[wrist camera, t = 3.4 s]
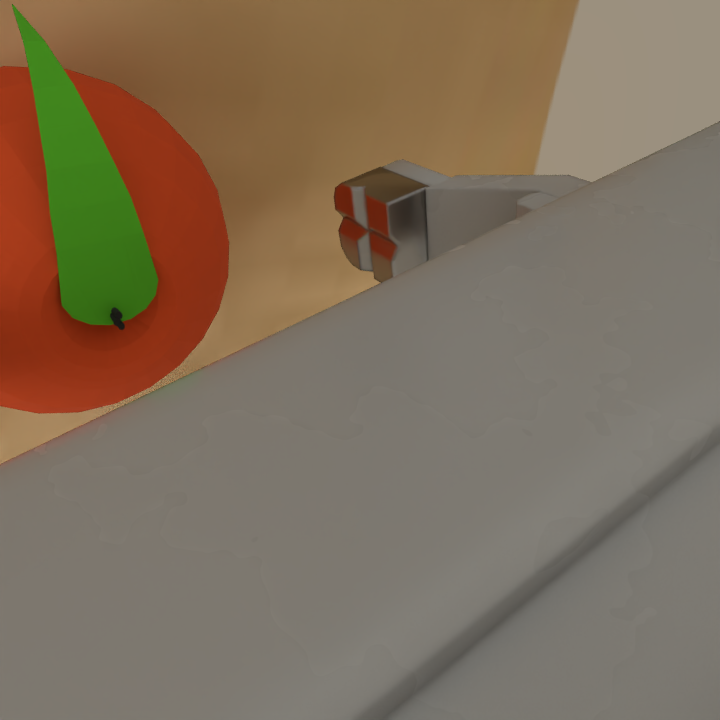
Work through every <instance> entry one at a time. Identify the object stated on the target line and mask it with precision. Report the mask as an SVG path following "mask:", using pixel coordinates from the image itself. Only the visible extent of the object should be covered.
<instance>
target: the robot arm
mask: <svg viewBox="0 0 720 720" xmlns="http://www.w3.org/2000/svg"><path fill="white" fill-rule="evenodd" d="M334 202H335V210H336V211H337V212H338V213H339V214H340V215H341V216H342V217H343V220H342V222H341V225H340V227H339V230H338V231H339V237H340V243H341V247H342V249H343V251H344V253H345V255H346V258H347V259H348V260H349V261H350V262H351V264H352V265H353V266H355V267H356V268H358V269H359V270H363V271H373V273H374V279H376V280H377V281H379V282H381V283H380V284H378V285H376V286H374V287H371V288H369V289H367V290H365V291H363V292H361V293H359V294H357V295H355V296H353V297H350V298H348V299H346V300H344V301H342V302H340V303H338V304H336V305H334V306H332V307H329V308H327V309H325V310H323V311H321V312H319V313H317V314H315V315H313V316H311V317H308V318H306V319H304V320H302V321H300V322H298V323H296V324H294V325H292V326H289V327H287V328H285V329H283V330H281V331H279V332H277V333H275V334H273V335H271V336H268V337H266V338H264V339H262V340H260V341H258V342H256V343H254V344H252V345H250V346H247V347H245V348H243V349H241V350H239V351H237V352H235V353H233V354H231V355H229V356H226V357H224V358H222V359H220V360H218V361H216V362H214V363H212V364H210V365H208V366H205V367H203V368H201V369H199V370H197V371H195V372H193V373H191V374H189V375H186V376H184V377H182V378H180V379H178V380H176V381H174V382H172V383H170V384H168V385H165V386H163V387H161V388H159V389H157V390H155V391H153V392H151V393H149V394H147V395H144V396H142V397H140V398H138V399H136V400H134V401H132V402H130V403H128V404H126V405H123V406H121V407H119V408H117V409H115V410H113V411H111V412H109V413H107V414H104V415H102V416H100V417H98V418H96V419H94V420H92V421H90V422H88V423H86V424H83V425H81V426H79V427H77V428H75V429H73V430H71V431H69V432H67V433H65V434H62V435H60V436H58V437H56V438H54V439H52V440H50V441H48V442H46V443H44V444H41V445H39V446H37V447H35V448H33V449H31V450H29V451H27V452H25V453H23V454H20V455H18V456H16V457H14V458H12V459H10V460H8V461H6V462H4V463H1V464H0V720H720V121H719V122H718V123H715V124H713V125H711V126H709V127H707V128H705V129H703V130H701V131H699V132H697V133H695V134H693V135H691V136H688V137H686V138H684V139H682V140H680V141H678V142H676V143H674V144H672V145H670V146H667V147H666V148H663V149H661V150H659V151H657V152H655V153H653V154H651V155H649V156H647V157H644V158H642V159H640V160H639V161H636V162H634V163H632V164H630V165H628V166H626V167H624V168H621V169H619V170H617V171H615V172H613V173H611V174H609V175H607V176H605V177H602V178H600V179H598V180H596V181H594V182H589V181H586V180H583V179H579V178H576V177H573V176H570V175H457V176H454V177H452V178H451V177H448V176H446V175H443V174H440V173H438V172H435V171H432V170H430V169H427V168H424V167H422V166H419V165H416V164H414V163H411V162H408V161H406V160H403V159H402V160H396V161H394V162H392V163H390V164H387V165H385V166H383V167H378V168H376V169H374V170H371V171H369V172H366V173H364V174H362V175H359V176H357V177H354V178H352V179H349V180H347V181H345V182H342V183H341V184H339V185H338V186H336V187H335V192H334Z"/></svg>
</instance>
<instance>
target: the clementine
mask: <svg viewBox="0 0 720 720" xmlns="http://www.w3.org/2000/svg"><path fill="white" fill-rule="evenodd" d="M12 7H13V11H14V14H15V17H16V20H17V23H18V27H19V30H20V33H21V36H22V40H23V43H24V47H25V52H26V57H27V62H28V67H9V66H3V67H0V406H2V407H8V408H13V409H18V410H23V411H28V412H34V413H70V412H82V411H86V410H90V409H94V408H98V407H102V406H106V405H111V404H115V403H118V402H120V401H122V400H124V399H126V398H128V397H130V396H133V395H135V394H137V393H139V392H141V391H143V390H145V389H147V388H150V387H151V386H153V385H154V384H155V383H157V382H158V381H159V380H161V379H162V378H163V377H165V376H166V375H167V374H169V373H170V372H171V371H173V370H174V369H175V368H177V367H178V366H179V365H180V364H181V363H182V362H183V361H184V360H185V358H186V357H187V356H188V355H189V354H190V353H191V352H192V350H193V349H194V348H195V347H196V346H197V345H198V344H199V343H200V341H201V340H202V339H203V337H204V336H205V334H206V332H207V330H208V328H209V326H210V325H211V323H212V321H213V319H214V317H215V315H216V314H217V312H218V310H219V307H220V304H221V300H222V297H223V293H224V289H225V286H226V282H227V279H228V260H229V240H228V235H227V230H226V225H225V221H224V217H223V212H222V208H221V204H220V200H219V196H218V191H217V189H216V187H215V185H214V183H213V181H212V179H211V177H210V176H209V174H208V172H207V170H206V168H205V166H204V164H203V163H202V161H201V159H200V157H199V155H198V154H197V153H196V152H195V151H194V150H193V149H192V148H191V146H190V145H189V144H188V143H187V142H186V141H185V140H184V139H183V138H182V137H181V136H180V135H179V134H178V133H177V132H176V131H175V129H174V128H173V127H172V126H171V125H170V124H169V123H168V122H167V121H166V120H165V119H164V118H163V117H162V116H161V115H160V114H159V113H158V112H157V111H156V110H155V109H153V108H152V107H150V106H148V105H147V104H145V103H144V102H142V101H140V100H139V99H137V98H136V97H134V96H132V95H131V94H129V93H128V92H126V91H125V90H123V89H121V88H120V87H118V86H117V85H115V84H112V83H108V82H105V81H102V80H99V79H96V78H93V77H90V76H86V75H83V74H80V73H77V72H74V71H71V70H67V69H63V68H62V66H61V65H60V63H59V62H58V60H57V59H56V57H55V56H54V54H53V53H52V51H51V50H50V48H49V47H48V45H47V44H46V42H45V41H44V39H43V38H42V37H41V36H40V35H39V34H38V33H37V31H36V30H35V29H34V28H33V27H32V26H31V25H30V24H29V22H28V21H27V20H26V19H25V18H24V17H23V16H22V14H21V13H20V12H19V11H18V10H17V9H16V8H15V6H14V5H13V4H12Z"/></svg>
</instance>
